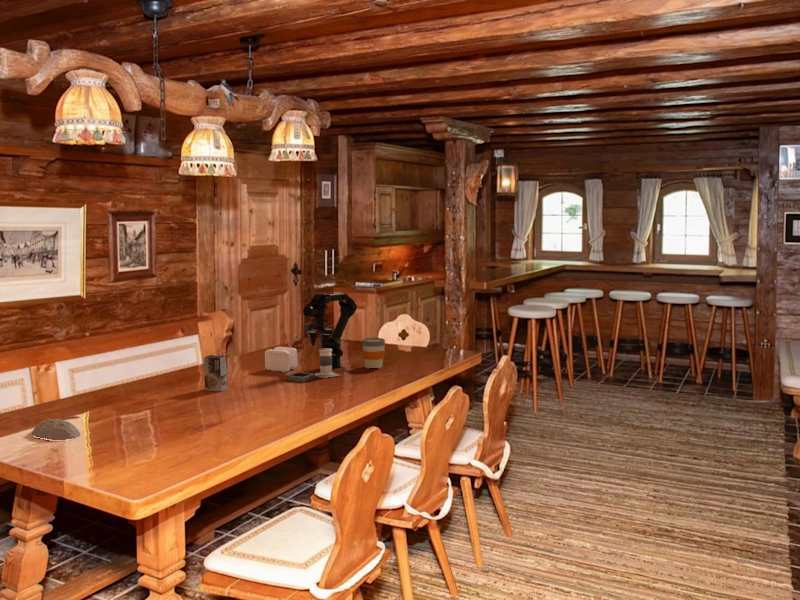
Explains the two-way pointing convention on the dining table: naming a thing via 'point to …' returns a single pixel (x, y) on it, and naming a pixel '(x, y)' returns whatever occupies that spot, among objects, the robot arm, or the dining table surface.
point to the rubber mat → (326, 376)
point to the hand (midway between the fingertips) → (317, 346)
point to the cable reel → (325, 361)
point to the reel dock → (300, 377)
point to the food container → (55, 430)
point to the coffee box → (215, 373)
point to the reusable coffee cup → (373, 352)
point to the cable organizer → (281, 359)
